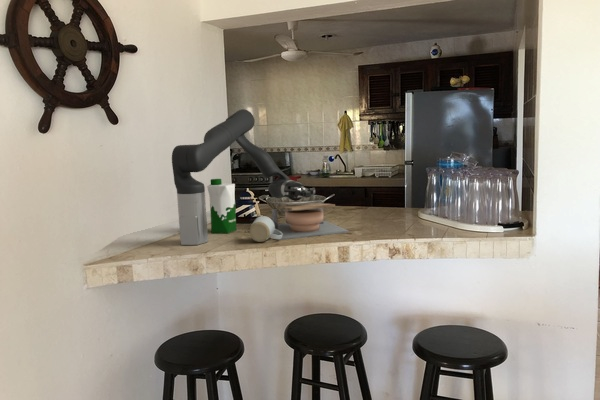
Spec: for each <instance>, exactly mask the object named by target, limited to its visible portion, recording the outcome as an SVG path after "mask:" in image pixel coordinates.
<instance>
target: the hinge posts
mask: <svg viewBox="0 0 600 400" xmlns="http://www.w3.org/2000/svg"><path fill="white" fill-rule="evenodd" d="M320 209H323V210H324V208H320ZM271 220H272V221H273V222H274V225H275V229H277V228H278V224H279V223H278V208H271ZM319 224H323V222H321V223H319Z"/></svg>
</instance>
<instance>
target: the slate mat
mask: <svg viewBox="0 0 600 400" xmlns="http://www.w3.org/2000/svg"><path fill="white" fill-rule="evenodd" d="M319 225H320V229H319V230H317V231H312V232H293V231H291V230H290V224H288V223H286V222H285V223H278V228H277V229H276V230H278V231H280V232H282V234H283V235H282V238H281V239H278V241H283V240H291V239H292V240H293V239H300V238H309V237H311V238H312V237H317V236H319V237H320V236H327V235H337V234H345V233H346V234H347V233H349V231H350V230H348V229H346V228H343V227H342V226H338V225H336V224H334V223H332V222H329V221H327V220H324V219H323V224H319ZM273 234H274V233H273ZM275 235H277V234H275Z"/></svg>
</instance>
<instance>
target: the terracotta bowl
mask: <svg viewBox="0 0 600 400" xmlns="http://www.w3.org/2000/svg"><path fill="white" fill-rule="evenodd" d="M284 212H285V213H284V214H285V223H288V224H290V230H291V231H293V232H312V231H317V230H319V229H320V225H319V223H321V222H323V220H324V208H323V209H320V208H314V209H303V210H285V211H284Z"/></svg>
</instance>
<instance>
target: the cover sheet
mask: <svg viewBox="0 0 600 400" xmlns="http://www.w3.org/2000/svg"><path fill="white" fill-rule="evenodd" d="M333 207H336V204H335V203H322V202H321V203H319V202H313V203H312V202H311V203H300V204H289V205H278V206H277V208H276V209H277V210H278V209H279V210H285V211H286V210H303V209H314V208H323V209H324V208H333Z"/></svg>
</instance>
